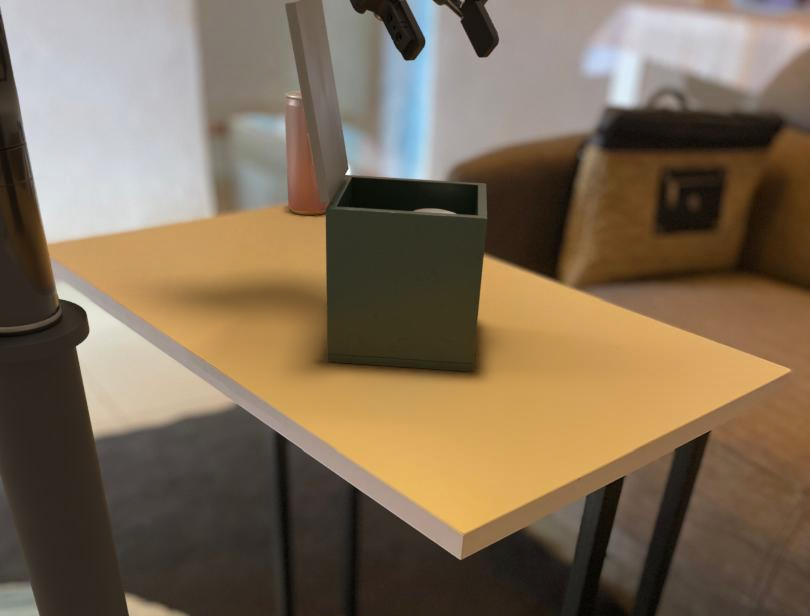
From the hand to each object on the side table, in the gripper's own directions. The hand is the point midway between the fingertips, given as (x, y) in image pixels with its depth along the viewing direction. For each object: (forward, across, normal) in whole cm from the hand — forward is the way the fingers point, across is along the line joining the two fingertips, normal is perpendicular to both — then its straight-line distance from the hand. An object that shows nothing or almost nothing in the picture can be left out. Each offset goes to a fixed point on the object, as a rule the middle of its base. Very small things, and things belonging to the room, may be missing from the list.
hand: (454, 52), depth 68 cm
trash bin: (+16, -1, +20) cm, 25 cm away
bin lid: (-3, -7, +9) cm, 11 cm away
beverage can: (-15, +21, +51) cm, 57 cm away
